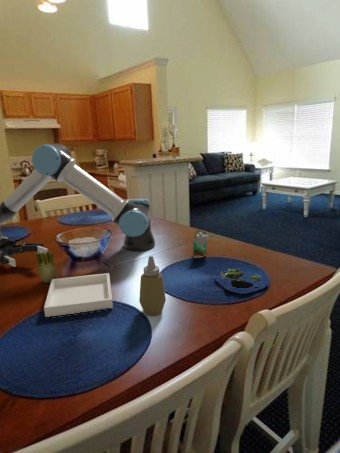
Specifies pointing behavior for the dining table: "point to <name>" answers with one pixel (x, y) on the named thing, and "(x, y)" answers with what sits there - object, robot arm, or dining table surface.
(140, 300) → the squeeze bottle
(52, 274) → the fennel bulb
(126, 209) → the robot arm
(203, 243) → the food container
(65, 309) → the bin
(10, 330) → the dining table surface
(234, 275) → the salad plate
